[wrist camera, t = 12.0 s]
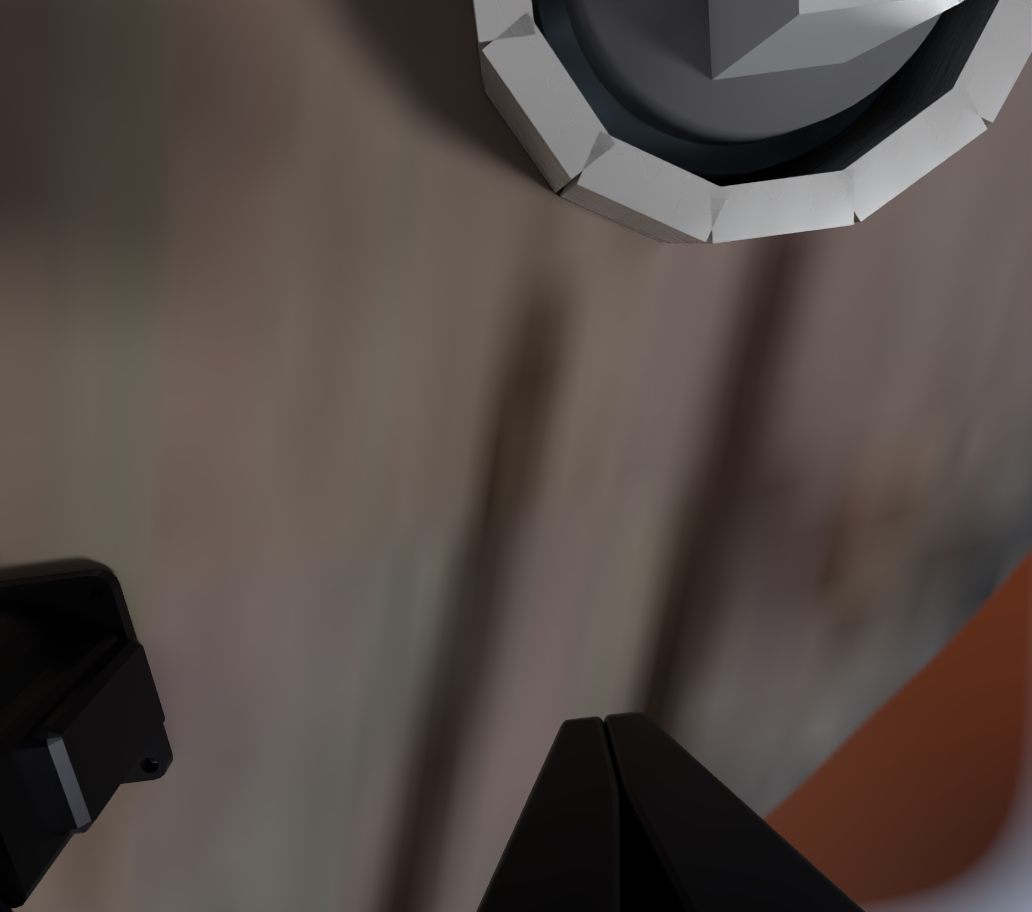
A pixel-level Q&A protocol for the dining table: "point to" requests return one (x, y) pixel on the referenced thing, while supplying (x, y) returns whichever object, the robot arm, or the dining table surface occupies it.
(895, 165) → the faceted white dish
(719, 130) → the grey knob
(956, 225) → the dining table surface
